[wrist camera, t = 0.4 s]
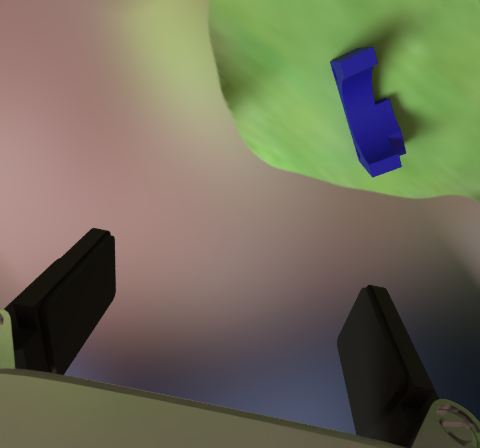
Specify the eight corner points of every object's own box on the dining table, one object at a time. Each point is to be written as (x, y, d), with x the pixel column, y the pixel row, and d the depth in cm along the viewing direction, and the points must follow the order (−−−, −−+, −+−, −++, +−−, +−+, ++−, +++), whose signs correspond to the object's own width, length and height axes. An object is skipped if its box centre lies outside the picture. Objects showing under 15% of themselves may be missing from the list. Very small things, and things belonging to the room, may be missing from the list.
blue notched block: (396, 146, 37) (417, 161, 32) (358, 161, 38) (372, 177, 33) (372, 41, 33) (391, 38, 27) (329, 61, 34) (340, 62, 29)
